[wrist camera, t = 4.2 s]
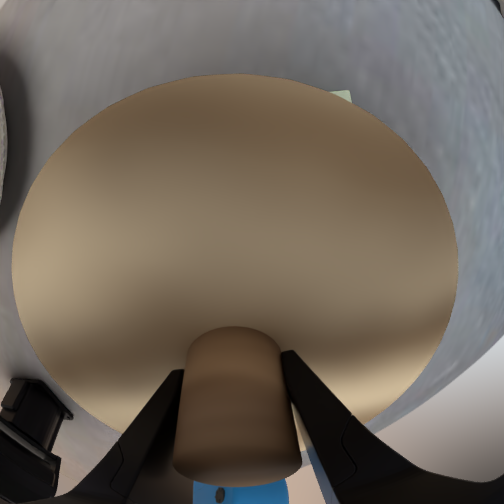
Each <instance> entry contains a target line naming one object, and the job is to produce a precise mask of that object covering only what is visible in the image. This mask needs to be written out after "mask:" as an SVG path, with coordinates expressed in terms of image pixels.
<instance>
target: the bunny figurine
mask: <svg viewBox="0 0 504 504" xmlns="http://www.w3.org/2000/svg"><path fill="white" fill-rule="evenodd" d="M497 1H498V2H499V3H500V8H501V14H502V16H503V18H504V0H497Z"/></svg>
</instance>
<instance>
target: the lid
mask: <svg viewBox="0 0 504 504" xmlns="http://www.w3.org/2000/svg"><path fill="white" fill-rule="evenodd" d="M12 280H13V290H14V297H15V301H16V305H17V309H18V313H19V317H20V320H21V322H22V325H23V328H24V330H25V333H26V335H27V338H28V340H29V342H30V344H31V346H32V347H33V349H34V351H35V353H36V355H37V356H38V358H39V360H40V361H41V363H42V364H43V366H44V367H45V368H46V370H47V371H48V373H49V374H50V375H51V377H52V378H53V379H54V380H55V381H56V383H57V384H58V385H59V386H60V387H61V388H62V389H63V390H64V391H65V392H66V394H68V395H69V396H70V397H71V398H72V399H73V400H74V401H75V402H76V403H77V404H78V405H80V406H81V407H82V408H83V409H84V410H86V411H87V412H88V413H90V414H91V415H92V416H94V417H95V418H97V419H98V420H99V421H101V422H103V423H104V424H106V425H108V426H109V427H111V428H113V429H114V430H116V431H118V432H120V433H122V434H123V433H124V432H125V430H126V429H127V428H128V426H129V425H130V424H131V423H132V421H133V420H134V419H135V417H136V416H137V415H138V414H139V412H140V411H141V410H142V408H143V407H144V406H145V405H146V403H147V402H148V401H149V399H150V398H151V397H152V395H153V394H154V393H155V392H156V390H157V389H158V388H159V386H160V385H161V384H162V382H163V381H164V380H165V379H166V377H167V376H168V375H169V373H170V372H171V371H172V370H175V369H184V370H185V371H184V377H183V384H182V391H181V398H180V405H179V412H178V420H177V428H176V436H175V444H174V453H173V462H172V464H173V467H174V469H175V470H176V471H177V472H178V473H180V474H181V475H183V476H185V477H186V478H189V479H191V480H194V481H197V482H200V483H204V484H209V485H214V486H223V487H250V486H258V485H264V484H269V483H273V482H276V481H279V480H282V479H284V478H287V477H289V476H291V475H292V474H294V473H295V472H297V471H298V470H299V469H300V467H301V465H302V457H301V452H300V451H304V450H306V447H305V444H304V442H303V439H302V436H301V433H300V430H299V428H298V425H297V422H296V419H295V416H294V413H293V408H292V404H291V399H290V395H289V391H288V387H287V383H286V378H285V373H284V368H283V362H282V357H281V352H283V351H287V350H294V351H295V352H296V353H297V354H298V355H299V356H300V357H301V358H302V360H303V361H304V362H305V363H306V364H307V365H308V366H309V367H310V368H311V369H312V371H313V372H314V373H315V374H316V375H317V376H318V377H319V378H320V379H321V380H322V382H323V383H324V384H325V385H326V386H327V387H328V388H329V389H330V390H331V391H332V392H333V393H334V395H335V396H336V397H337V398H338V399H339V400H340V401H341V402H342V403H343V404H344V405H345V406H346V407H347V408H348V410H349V411H350V412H351V413H352V415H354V416H355V417H356V418H357V419H358V420H359V421H360V422H361V423H362V424H365V423H367V422H368V421H370V420H371V419H373V418H374V417H375V416H377V415H378V414H380V413H381V412H382V411H384V410H385V409H386V408H387V407H389V406H390V405H391V404H392V403H393V402H394V401H395V400H397V399H398V398H399V397H400V396H401V395H402V394H403V393H404V392H405V391H406V390H407V389H408V388H409V387H410V385H411V384H412V383H413V382H414V381H415V380H416V379H417V377H418V376H419V375H420V374H421V372H422V371H423V369H424V368H425V367H426V365H427V364H428V363H429V361H430V359H431V358H432V356H433V354H434V353H435V351H436V349H437V347H438V346H439V344H440V342H441V340H442V337H443V335H444V333H445V330H446V328H447V325H448V323H449V320H450V316H451V313H452V309H453V306H454V302H455V297H456V289H457V282H458V249H457V243H456V237H455V232H454V227H453V222H452V219H451V217H450V214H449V211H448V208H447V205H446V203H445V200H444V197H443V195H442V193H441V191H440V190H439V188H438V186H437V184H436V182H435V181H434V179H433V177H432V176H431V174H430V172H429V171H428V169H427V167H426V166H425V165H424V164H423V162H422V161H421V160H420V159H419V157H418V156H417V155H416V154H415V153H414V152H413V150H412V149H411V148H410V147H409V146H408V145H407V143H406V142H405V141H404V140H403V139H402V138H401V137H399V136H398V135H397V134H396V133H395V132H393V131H392V130H391V129H390V128H389V127H387V126H386V125H385V124H384V123H382V122H381V121H380V120H379V119H377V118H376V117H375V116H374V115H372V114H370V113H369V112H367V111H365V110H363V109H362V108H360V107H358V106H356V105H354V104H353V103H351V102H349V101H347V100H345V99H343V98H341V97H339V96H337V95H335V94H333V93H330V92H327V91H324V90H322V89H319V88H316V87H313V86H309V85H306V84H303V83H300V82H296V81H293V80H289V79H283V78H276V77H268V76H260V75H252V74H220V75H205V76H194V77H189V78H185V79H181V80H176V81H172V82H169V83H165V84H161V85H157V86H154V87H150V88H147V89H145V90H143V91H140V92H138V93H136V94H134V95H131V96H129V97H127V98H125V99H123V100H121V101H119V102H117V103H115V104H113V105H111V106H109V107H107V108H106V109H104V110H103V111H101V112H100V113H98V114H97V115H96V116H94V117H93V118H91V119H90V120H89V121H87V122H86V123H85V124H83V125H82V126H81V127H79V128H78V129H77V130H75V131H74V132H73V133H72V134H71V135H70V136H69V137H68V138H67V139H66V140H65V141H64V143H63V144H62V145H61V146H60V147H59V148H58V149H57V150H56V151H55V152H54V153H53V154H52V156H51V157H50V158H49V159H48V161H47V162H46V164H45V165H44V167H43V168H42V170H41V171H40V173H39V174H38V176H37V178H36V179H35V181H34V182H33V184H32V186H31V188H30V190H29V192H28V195H27V197H26V199H25V202H24V204H23V207H22V209H21V212H20V215H19V218H18V223H17V227H16V231H15V236H14V241H13V251H12Z"/></svg>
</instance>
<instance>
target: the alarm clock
mask: <svg viewBox="0 0 504 504" xmlns="http://www.w3.org/2000/svg"><path fill="white" fill-rule="evenodd" d="M193 504H289V496H288V489H287V484H286V481H285V478H284V479H282V480H279V481H276V482H273V483H269V484H264V485H258V486H250V487H223V486H214V485H209V484H204V483H200V482H197V481H194V483H193Z"/></svg>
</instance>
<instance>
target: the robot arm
mask: <svg viewBox="0 0 504 504" xmlns="http://www.w3.org/2000/svg"><path fill="white" fill-rule="evenodd" d="M281 357H282V362H283V368H284V373H285V378H286V383H287V387H288V391H289V395H290V399H291V404H292V408H293V413H294V416H295V419H296V422H297V425H298V428H299V430H300V433H301V436H302V439H303V442H304V444H305V447H306V450H307V453H308V456H309V458H310V461H311V464H312V466H313V469H314V472H315V475H316V478H317V481H318V483H319V486H320V489H321V492H322V494H323V497H324V499H325V502H326V504H504V474H502V475H501V476H500V477H498V478H497V479H495V480H492V481H488V482H474V481H468V480H462V479H458V478H453V477H449V476H444V475H440V474H436V473H432V472H429V471H426V470H423V469H421V468H419V467H418V466H416V465H414V464H413V463H411V462H410V461H408V460H407V459H406V458H404V457H403V456H401V455H400V454H399V453H397V452H396V451H394V450H393V449H392V448H390V447H389V446H387V445H386V444H385V443H384V442H382V441H381V440H380V439H379V438H377V437H376V436H375V435H374V434H373V433H371V432H370V431H369V430H368V429H367V428H366V427H365V426H364V425H363V424H362V423H361V422H360V421H359V420H358V419H357V418H356V417H355V416H354V415H352V413H351V412H350V411H349V410H348V408H347V407H346V406H345V405H344V404H343V403H342V402H341V401H340V400H339V399H338V398H337V397H336V396H335V395H334V393H333V392H332V391H331V390H330V389H329V388H328V387H327V386H326V385H325V384H324V383H323V382H322V380H321V379H320V378H319V377H318V376H317V375H316V374H315V373H314V372H313V371H312V369H311V368H310V367H309V366H308V365H307V364H306V363H305V362H304V361H303V360H302V358H301V357H300V356H299V355H298V354H297V353H296V352H295V351H294V350H287V351H283V352H281ZM184 371H185V370H184V369H175V370H172V371H171V372H170V373H169V375H168V376H167V377H166V379H165V380H164V381H163V382H162V384H161V385H160V386H159V388H158V389H157V390H156V392H155V393H154V394H153V395H152V397H151V398H150V399H149V401H148V402H147V403H146V405H145V406H144V407H143V408H142V410H141V411H140V412H139V414H138V415H137V416H136V417H135V419H134V420H133V421H132V423H131V424H130V425H129V426H128V428H127V429H126V430H125V432H124V433H123V434H122V435H121V437H120V438H119V439H118V441H117V442H116V443H115V444H114V446H113V447H112V448H111V449H110V451H109V452H108V453H107V454H106V455H105V457H104V458H103V459H102V460H101V461H100V462H99V463H98V464H97V465H96V467H95V468H94V469H93V470H92V471H91V472H90V473H89V474H88V475H87V476H86V477H85V478H84V479H83V480H82V481H81V482H80V483H79V484H78V485H77V486H76V487H75V488H73V489H72V490H71V491H69V492H68V493H66V494H63V495H61V496H57V497H54V496H55V494H56V491H57V486H58V478H59V471H60V464H61V458H60V457H59V456H56V455H54V454H53V453H51V451H52V448H53V445H54V442H55V440H56V437H57V434H58V432H59V429H60V426H61V424H62V421H63V419H65V420H73V415H72V414H71V413H70V412H69V411H68V410H67V409H66V408H65V407H64V406H63V405H62V404H61V403H60V402H59V400H58V399H57V398H56V397H55V396H54V395H53V394H52V392H51V391H50V390H49V389H48V388H47V387H46V385H45V384H44V383H43V382H42V381H39V380H25V379H11V380H10V383H11V386H10V388H9V390H8V391H7V393H6V395H5V397H4V399H3V401H2V402H1V406H2V407H3V408H2V410H1V412H0V504H193V483H194V480H191V479H189V478H186V477H185V476H183V475H181V474H180V473H178V472H177V471H176V470H175V469H174V467H173V464H172V462H173V453H174V444H175V436H176V428H177V420H178V412H179V405H180V398H181V391H182V384H183V377H184Z"/></svg>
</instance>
